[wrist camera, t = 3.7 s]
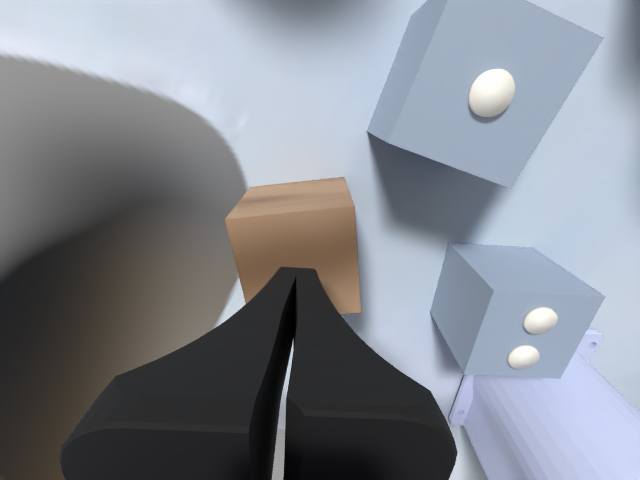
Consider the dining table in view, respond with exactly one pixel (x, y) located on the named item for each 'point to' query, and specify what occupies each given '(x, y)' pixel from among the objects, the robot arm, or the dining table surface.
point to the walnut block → (298, 237)
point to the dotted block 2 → (511, 311)
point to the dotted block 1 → (480, 83)
